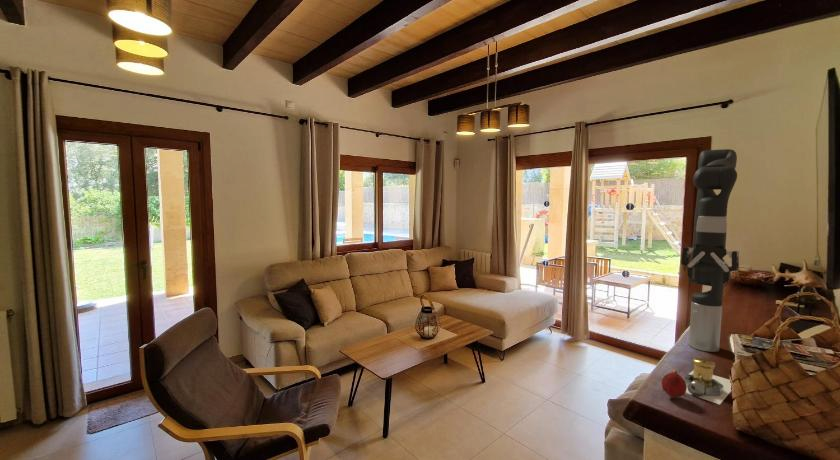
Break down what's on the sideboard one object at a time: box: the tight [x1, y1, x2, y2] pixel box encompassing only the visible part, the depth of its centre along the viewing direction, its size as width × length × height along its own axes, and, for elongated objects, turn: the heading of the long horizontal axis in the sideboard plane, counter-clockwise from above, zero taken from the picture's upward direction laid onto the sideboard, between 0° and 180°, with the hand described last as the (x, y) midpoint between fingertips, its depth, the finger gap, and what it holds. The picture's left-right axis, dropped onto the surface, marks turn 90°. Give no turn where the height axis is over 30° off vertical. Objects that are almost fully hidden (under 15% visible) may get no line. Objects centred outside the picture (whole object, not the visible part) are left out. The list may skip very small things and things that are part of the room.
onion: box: [661, 369, 687, 399], centre depth 103 cm, size 6×6×8 cm
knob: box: [692, 357, 716, 387], centre depth 106 cm, size 5×5×8 cm
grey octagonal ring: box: [683, 373, 723, 398], centre depth 105 cm, size 11×9×4 cm
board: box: [682, 369, 733, 408], centre depth 108 cm, size 20×11×1 cm, turn 128°
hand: (707, 281), depth 117 cm, fingers open, 8 cm apart
